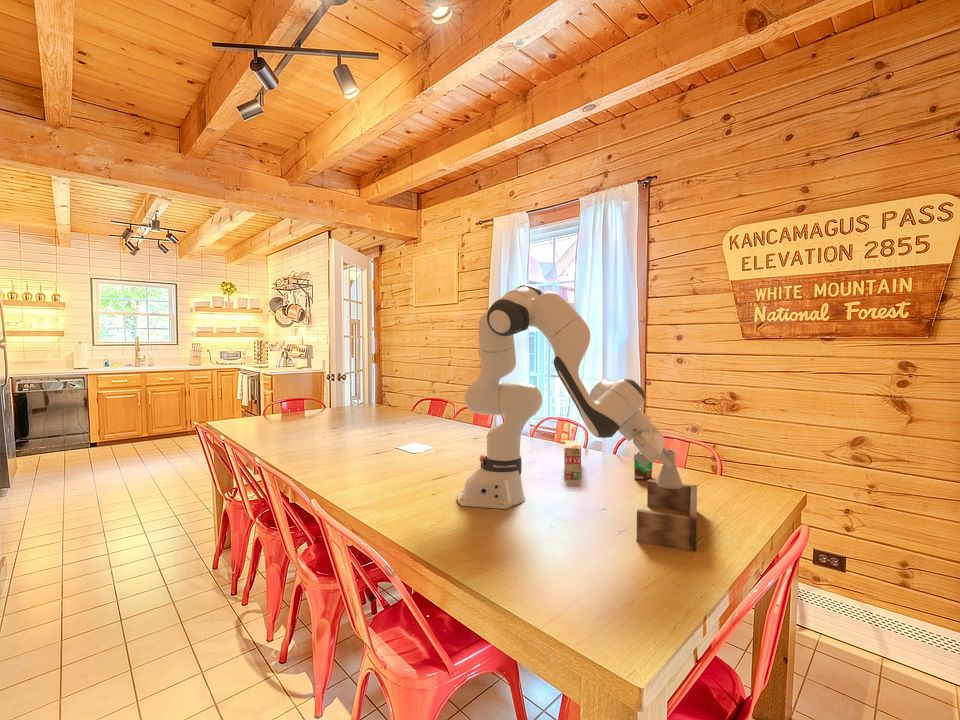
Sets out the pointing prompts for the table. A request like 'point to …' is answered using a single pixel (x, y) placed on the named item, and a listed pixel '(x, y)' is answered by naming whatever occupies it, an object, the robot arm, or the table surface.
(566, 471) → the stack of blocks
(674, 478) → the flask
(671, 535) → the u-shaped enclosure
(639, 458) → the food container
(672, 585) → the table surface
